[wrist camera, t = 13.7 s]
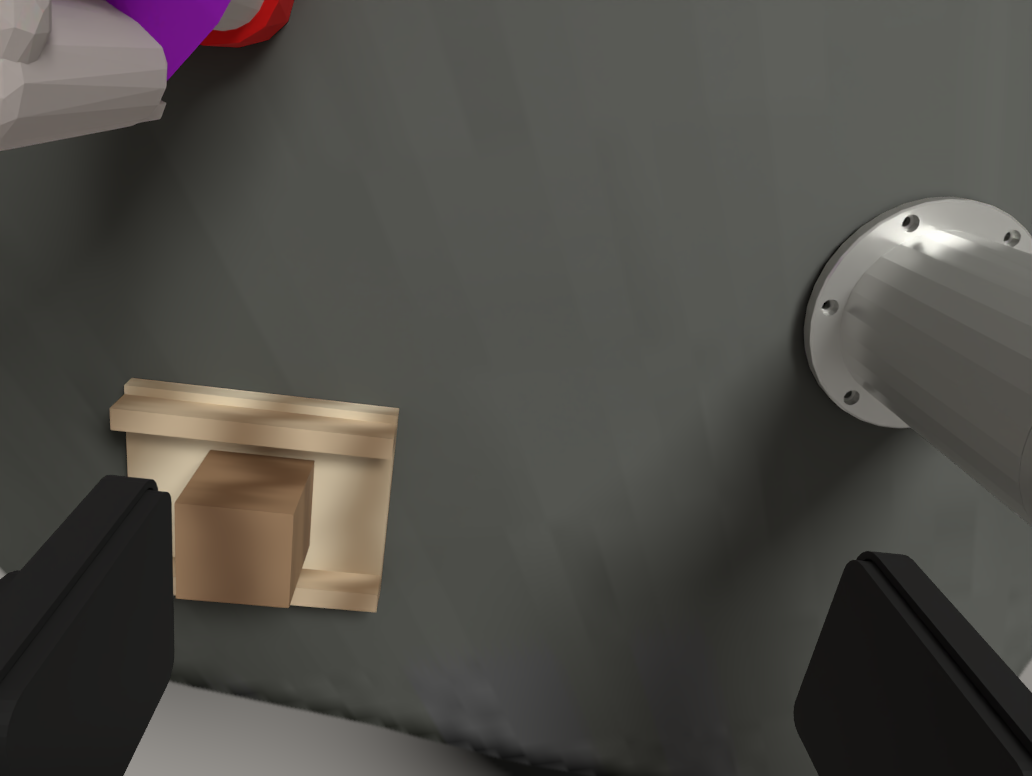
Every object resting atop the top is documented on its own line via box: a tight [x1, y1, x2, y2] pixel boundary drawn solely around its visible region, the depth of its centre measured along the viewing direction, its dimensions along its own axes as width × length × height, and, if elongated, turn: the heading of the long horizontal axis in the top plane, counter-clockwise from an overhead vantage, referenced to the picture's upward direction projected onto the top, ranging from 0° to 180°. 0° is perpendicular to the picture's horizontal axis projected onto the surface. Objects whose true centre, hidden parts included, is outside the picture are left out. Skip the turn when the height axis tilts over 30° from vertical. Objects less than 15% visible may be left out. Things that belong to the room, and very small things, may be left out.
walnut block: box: [174, 450, 315, 608], centre depth 40 cm, size 6×6×6 cm
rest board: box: [110, 378, 399, 612], centre depth 43 cm, size 14×12×3 cm
